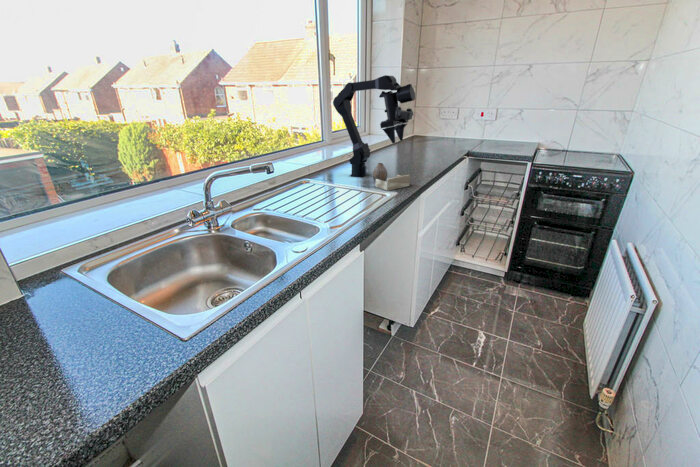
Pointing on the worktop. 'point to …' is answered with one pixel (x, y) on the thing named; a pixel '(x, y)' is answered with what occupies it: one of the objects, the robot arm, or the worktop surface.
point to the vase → (380, 172)
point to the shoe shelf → (393, 182)
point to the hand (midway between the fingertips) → (397, 141)
